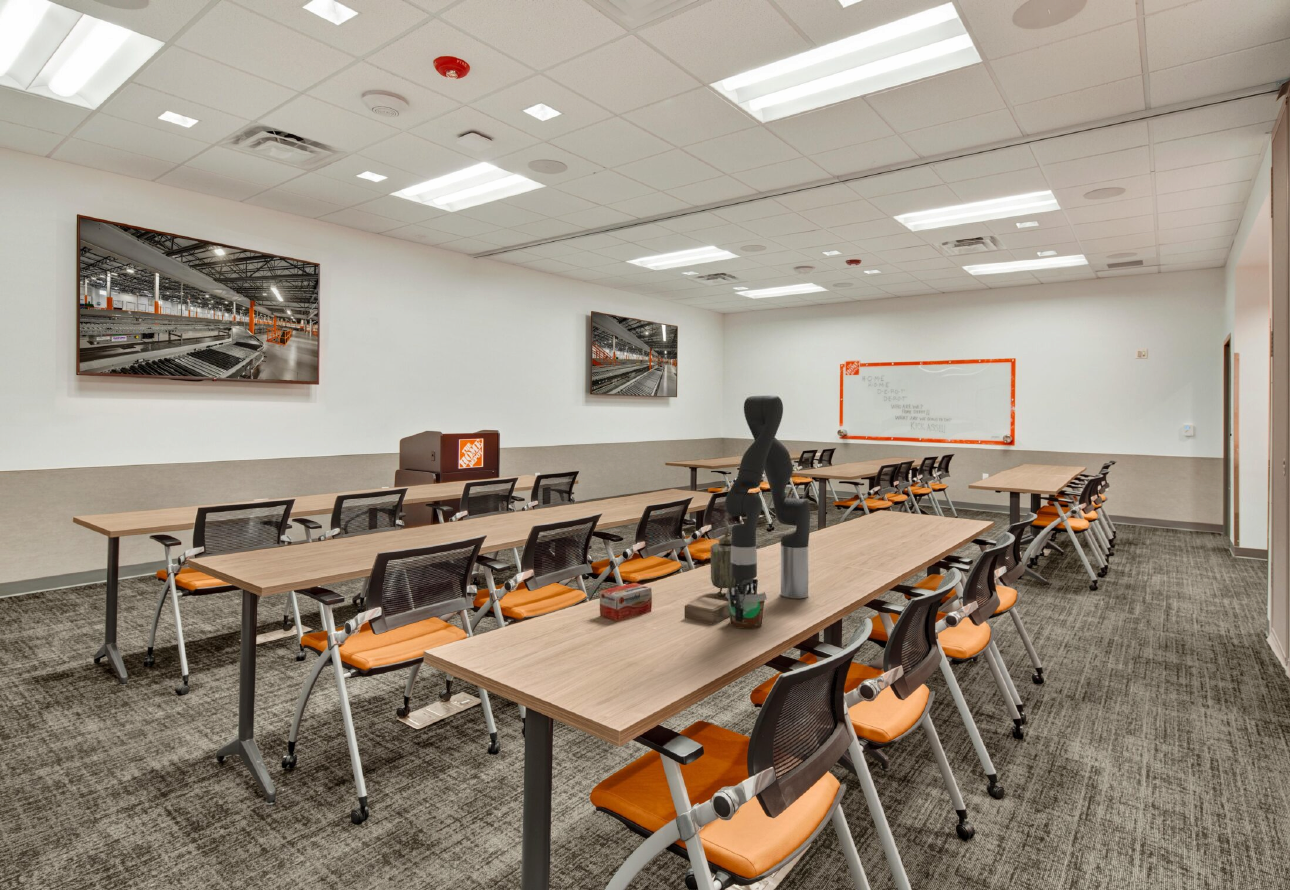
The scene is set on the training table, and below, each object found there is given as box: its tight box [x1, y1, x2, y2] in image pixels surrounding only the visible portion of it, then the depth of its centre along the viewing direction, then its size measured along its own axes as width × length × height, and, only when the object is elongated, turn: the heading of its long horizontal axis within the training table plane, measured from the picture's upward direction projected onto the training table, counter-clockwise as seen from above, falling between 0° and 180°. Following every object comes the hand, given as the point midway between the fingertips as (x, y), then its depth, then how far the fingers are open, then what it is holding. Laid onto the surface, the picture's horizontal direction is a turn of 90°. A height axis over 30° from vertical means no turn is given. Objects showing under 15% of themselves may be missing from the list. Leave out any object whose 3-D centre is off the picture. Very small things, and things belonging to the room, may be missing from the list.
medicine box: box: [599, 582, 653, 622], centre depth 203 cm, size 15×8×8 cm, turn 134°
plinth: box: [684, 596, 730, 625], centre depth 199 cm, size 11×10×4 cm
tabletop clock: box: [710, 522, 735, 597], centre depth 222 cm, size 14×9×25 cm, turn 179°
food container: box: [725, 588, 768, 630], centre depth 189 cm, size 12×6×10 cm, turn 62°
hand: (743, 617), depth 190 cm, fingers closed on food container, 5 cm apart
